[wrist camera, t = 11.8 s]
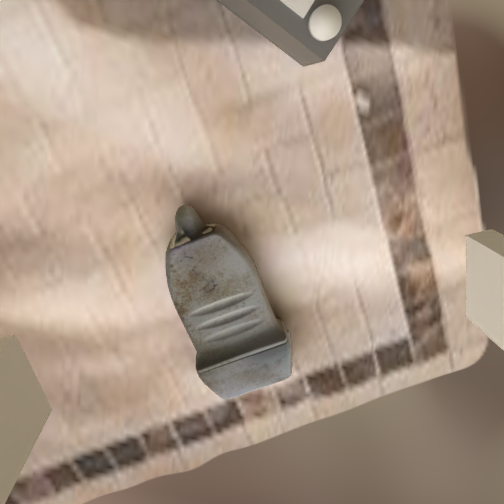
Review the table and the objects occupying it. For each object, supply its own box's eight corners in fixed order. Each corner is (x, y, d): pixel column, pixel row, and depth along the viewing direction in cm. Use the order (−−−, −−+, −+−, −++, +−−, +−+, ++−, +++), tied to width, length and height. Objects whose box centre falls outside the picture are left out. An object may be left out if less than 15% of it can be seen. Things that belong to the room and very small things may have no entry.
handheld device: (231, 182, 38) (234, 194, 33) (297, 352, 45) (307, 380, 41) (133, 220, 38) (124, 237, 34) (215, 382, 46) (215, 413, 41)
